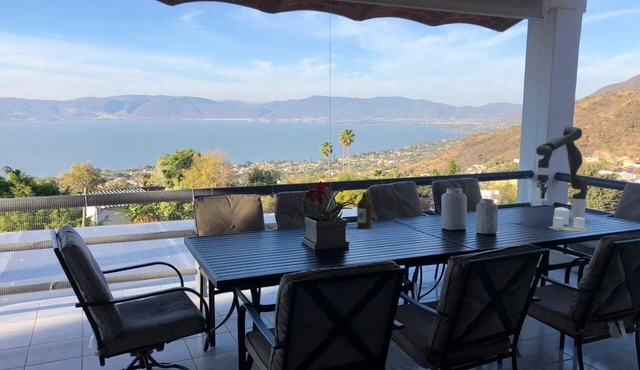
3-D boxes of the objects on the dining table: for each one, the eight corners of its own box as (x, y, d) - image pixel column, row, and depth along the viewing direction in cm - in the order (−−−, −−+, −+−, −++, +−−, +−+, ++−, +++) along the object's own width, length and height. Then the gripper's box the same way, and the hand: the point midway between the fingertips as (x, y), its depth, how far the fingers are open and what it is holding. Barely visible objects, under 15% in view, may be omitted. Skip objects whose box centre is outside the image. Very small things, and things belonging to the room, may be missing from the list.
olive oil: (361, 225, 354) (362, 191, 351) (374, 227, 348) (375, 192, 345) (353, 228, 345) (354, 192, 342) (366, 230, 339) (367, 194, 336)
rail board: (549, 227, 350) (549, 226, 350) (581, 228, 349) (581, 227, 349) (554, 230, 341) (554, 229, 340) (587, 231, 339) (588, 230, 339)
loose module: (536, 199, 353) (536, 187, 352) (544, 200, 352) (545, 187, 351) (538, 200, 349) (538, 188, 348) (546, 200, 348) (547, 188, 347)
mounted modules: (552, 226, 348) (553, 216, 347) (580, 227, 347) (581, 217, 346) (556, 228, 342) (556, 218, 341) (584, 228, 341) (585, 218, 340)
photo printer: (552, 223, 367) (553, 207, 365) (555, 222, 370) (556, 206, 368) (566, 225, 359) (568, 208, 357) (569, 224, 362) (570, 208, 360)
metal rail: (551, 227, 347) (551, 226, 347) (583, 228, 346) (583, 227, 346) (553, 228, 343) (553, 227, 343) (586, 229, 342) (586, 228, 342)
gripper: (552, 175, 341) (550, 199, 343) (544, 173, 355) (543, 196, 357) (541, 174, 342) (539, 199, 344) (533, 172, 356) (532, 196, 358)
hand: (541, 197), depth 350 cm, fingers closed on loose module, 4 cm apart
